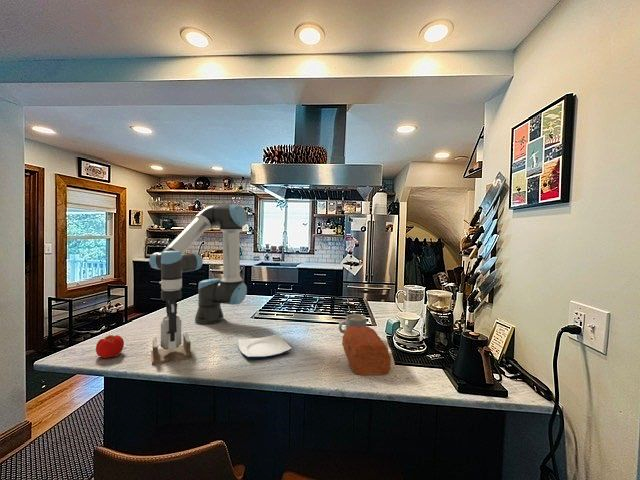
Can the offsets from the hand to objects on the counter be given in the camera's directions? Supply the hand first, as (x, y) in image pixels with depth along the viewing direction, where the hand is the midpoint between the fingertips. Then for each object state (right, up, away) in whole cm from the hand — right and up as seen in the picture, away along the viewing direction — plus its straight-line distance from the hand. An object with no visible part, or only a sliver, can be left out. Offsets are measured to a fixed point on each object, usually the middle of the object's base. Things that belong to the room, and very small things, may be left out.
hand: (171, 345), depth 120 cm
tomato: (-24, -4, -1) cm, 24 cm away
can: (0, -1, 0) cm, 1 cm away
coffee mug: (+76, -5, +25) cm, 80 cm away
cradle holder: (0, -4, 0) cm, 4 cm away
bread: (+78, -6, +1) cm, 79 cm away
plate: (+36, -5, +8) cm, 37 cm away
